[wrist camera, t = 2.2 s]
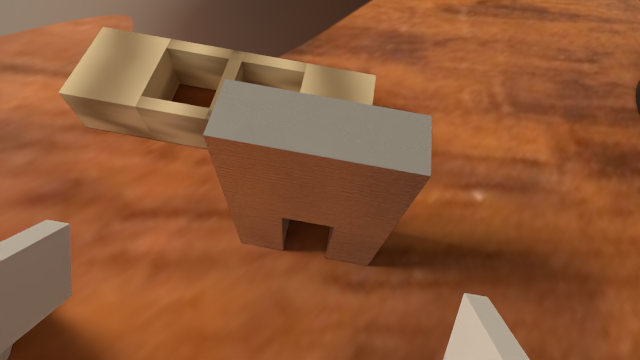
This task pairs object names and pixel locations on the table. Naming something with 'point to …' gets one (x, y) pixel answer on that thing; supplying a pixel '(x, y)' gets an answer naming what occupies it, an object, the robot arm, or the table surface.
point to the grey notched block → (316, 166)
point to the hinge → (5, 353)
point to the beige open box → (188, 69)
